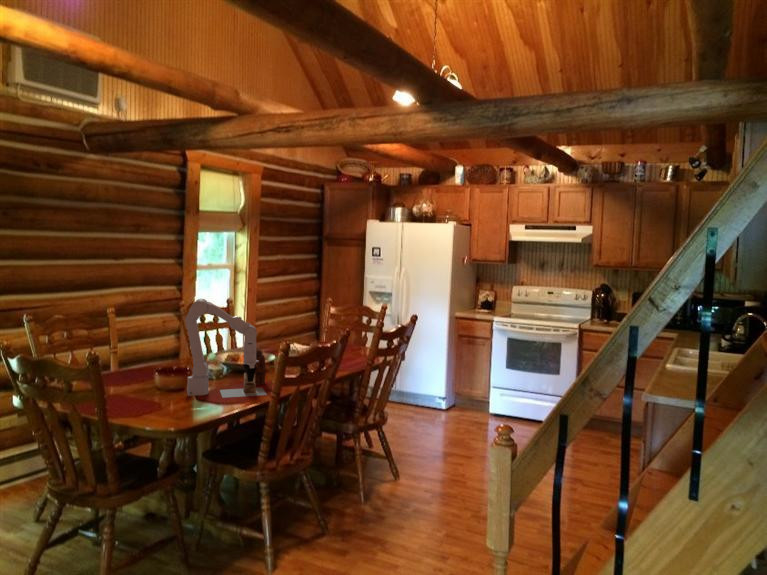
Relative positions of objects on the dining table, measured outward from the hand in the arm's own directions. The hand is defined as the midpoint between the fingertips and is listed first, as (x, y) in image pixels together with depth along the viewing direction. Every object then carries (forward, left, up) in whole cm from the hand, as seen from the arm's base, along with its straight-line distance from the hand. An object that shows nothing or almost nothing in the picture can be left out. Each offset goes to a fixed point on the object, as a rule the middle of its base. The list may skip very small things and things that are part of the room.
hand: (249, 380), depth 291 cm
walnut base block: (0, 0, -6) cm, 6 cm away
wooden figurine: (+5, +18, -7) cm, 20 cm away
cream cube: (0, 0, -1) cm, 1 cm away
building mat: (-3, 0, -6) cm, 7 cm away
